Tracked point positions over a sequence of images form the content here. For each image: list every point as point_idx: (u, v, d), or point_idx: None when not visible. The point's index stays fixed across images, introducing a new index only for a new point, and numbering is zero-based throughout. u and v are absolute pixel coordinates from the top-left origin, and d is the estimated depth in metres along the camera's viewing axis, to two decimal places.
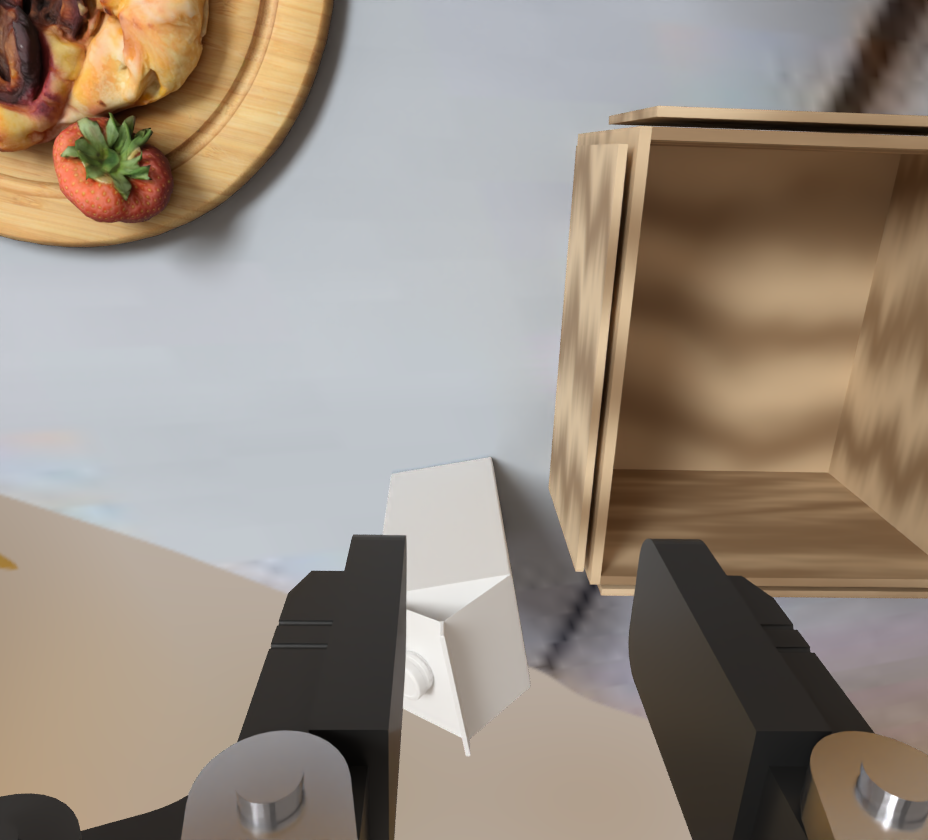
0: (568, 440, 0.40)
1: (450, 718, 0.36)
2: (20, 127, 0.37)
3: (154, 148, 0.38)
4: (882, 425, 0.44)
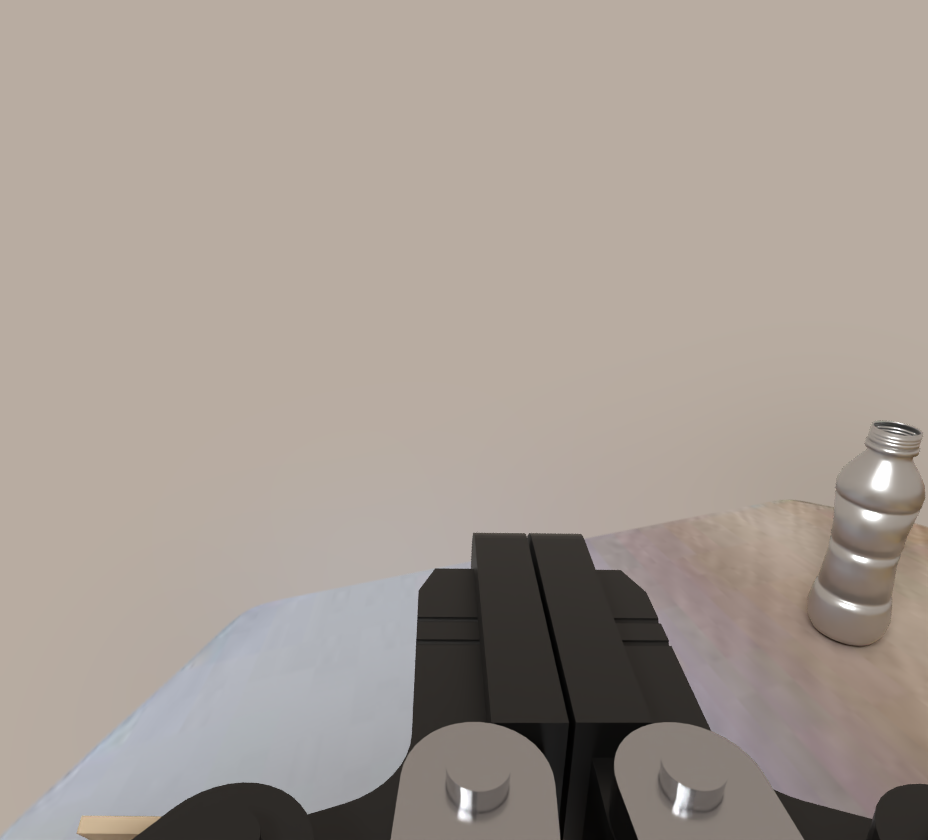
0: None
1: None
2: None
3: None
4: None
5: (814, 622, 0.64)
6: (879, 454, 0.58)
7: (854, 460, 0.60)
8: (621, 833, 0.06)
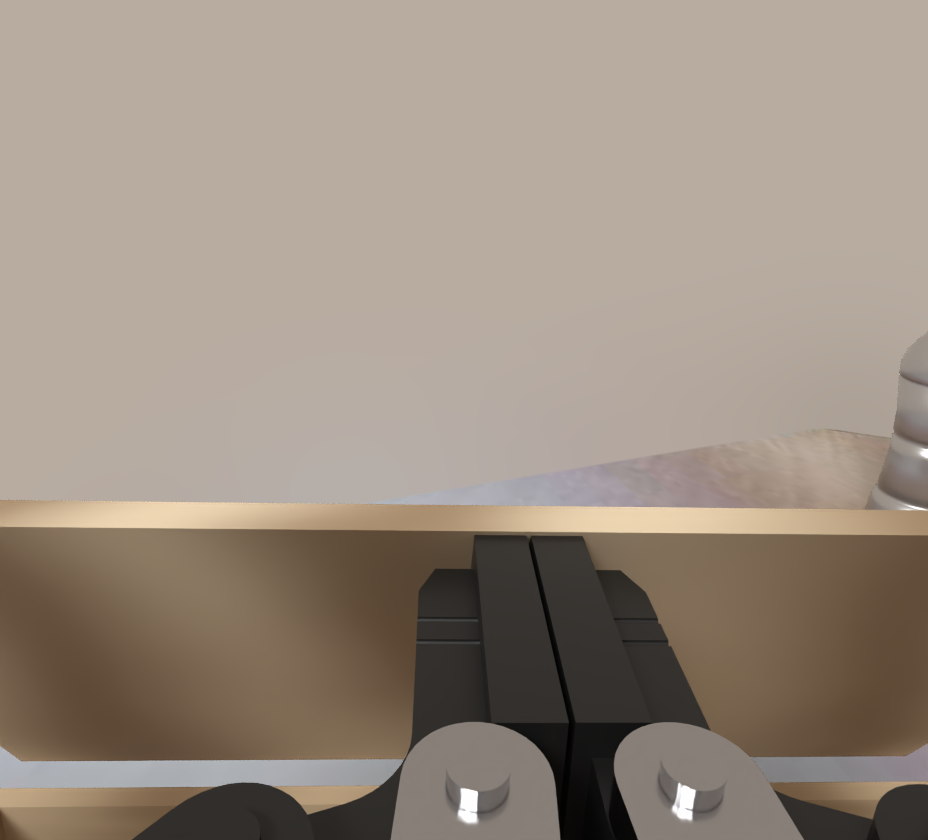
0: None
1: None
2: None
3: None
4: None
5: None
6: None
7: (923, 337, 0.51)
8: (621, 834, 0.06)
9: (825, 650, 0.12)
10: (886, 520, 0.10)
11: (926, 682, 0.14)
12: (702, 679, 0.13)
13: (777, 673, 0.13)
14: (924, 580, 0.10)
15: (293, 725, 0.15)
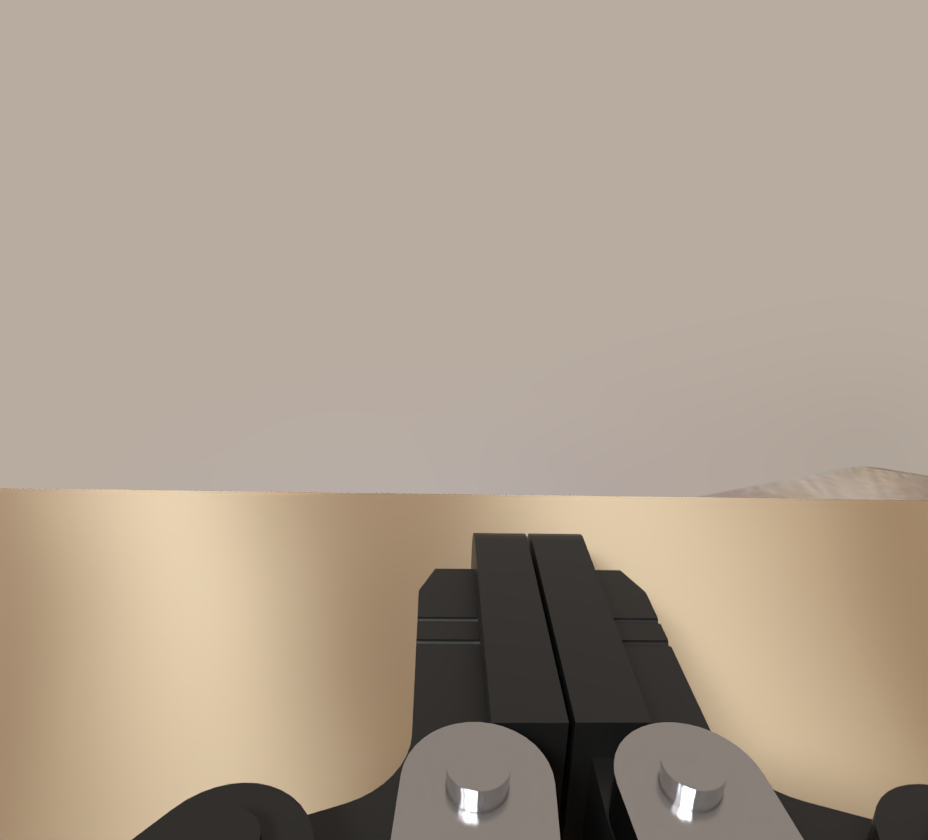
0: None
1: None
2: None
3: None
4: None
5: None
6: None
7: None
8: (621, 833, 0.06)
9: (904, 760, 0.10)
10: None
11: None
12: None
13: None
14: (917, 582, 0.11)
15: None
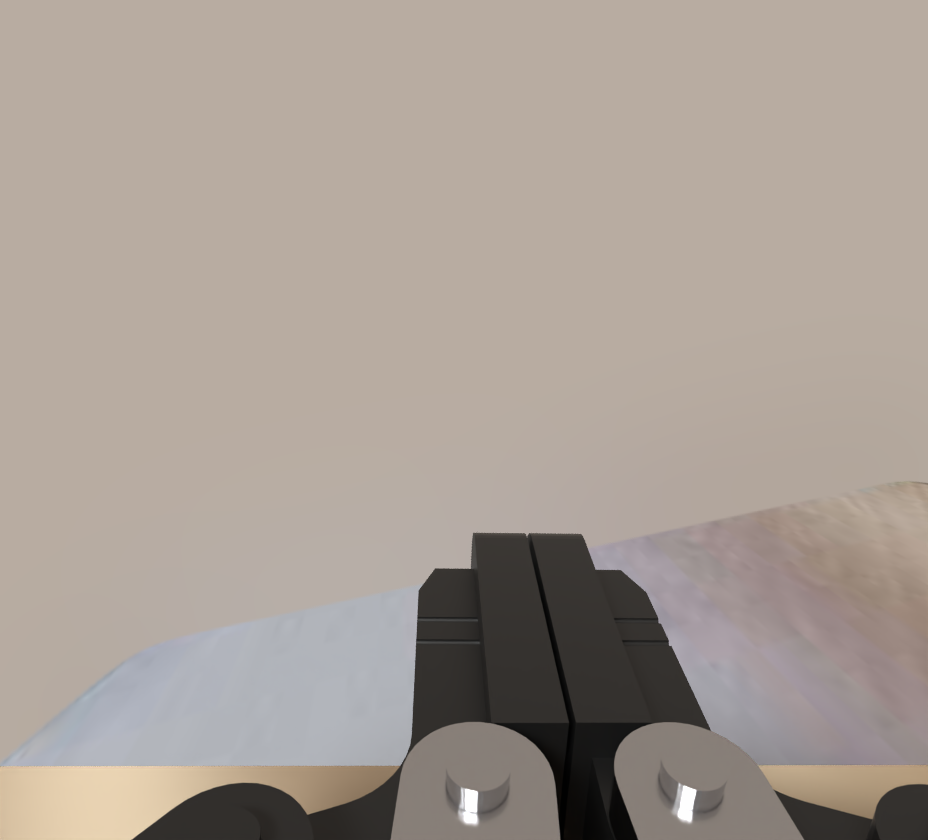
0: None
1: None
2: None
3: None
4: None
5: None
6: None
7: None
8: (621, 833, 0.06)
9: None
10: None
11: None
12: None
13: None
14: None
15: None
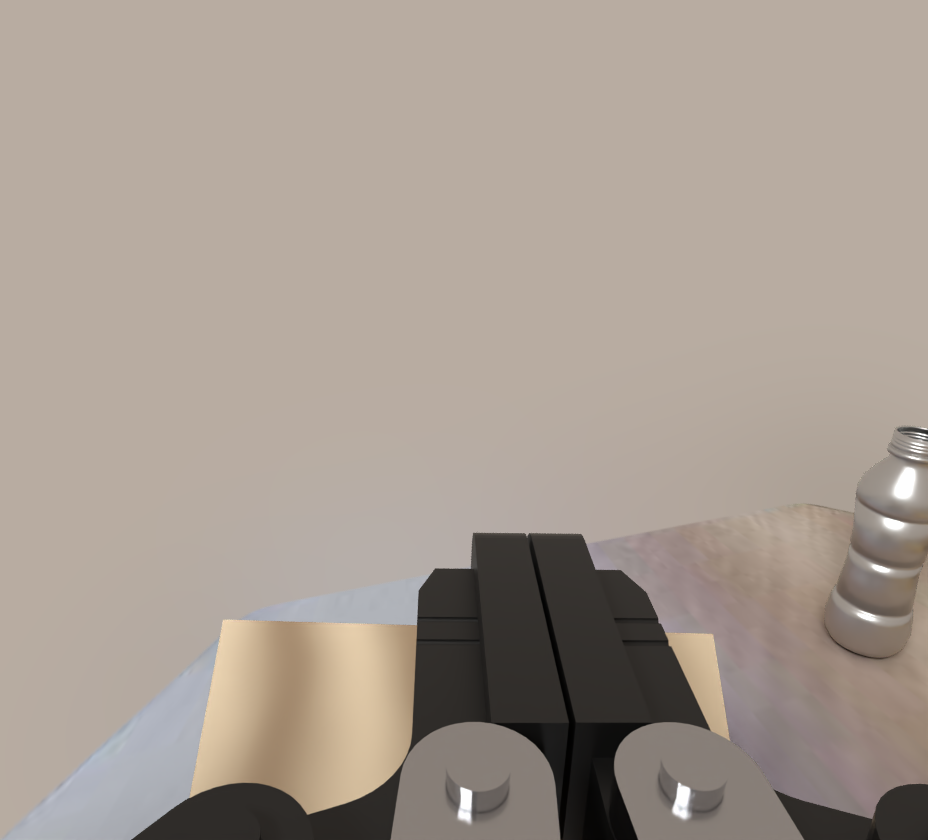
0: None
1: None
2: None
3: None
4: None
5: (831, 633, 0.62)
6: (902, 460, 0.56)
7: (876, 467, 0.58)
8: (621, 834, 0.06)
9: None
10: None
11: None
12: None
13: None
14: None
15: None
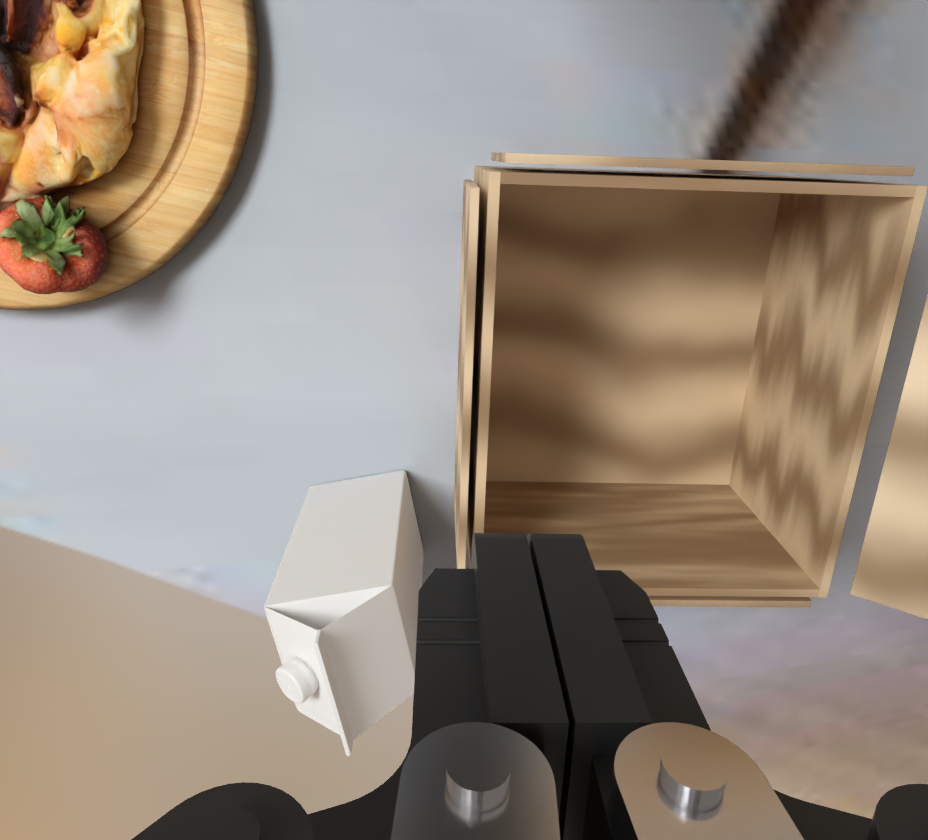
0: None
1: (335, 720, 0.38)
2: None
3: (88, 225, 0.42)
4: (767, 441, 0.47)
5: None
6: None
7: None
8: (621, 833, 0.06)
9: None
10: None
11: None
12: None
13: None
14: None
15: None
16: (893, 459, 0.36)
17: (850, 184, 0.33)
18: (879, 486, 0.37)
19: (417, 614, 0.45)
